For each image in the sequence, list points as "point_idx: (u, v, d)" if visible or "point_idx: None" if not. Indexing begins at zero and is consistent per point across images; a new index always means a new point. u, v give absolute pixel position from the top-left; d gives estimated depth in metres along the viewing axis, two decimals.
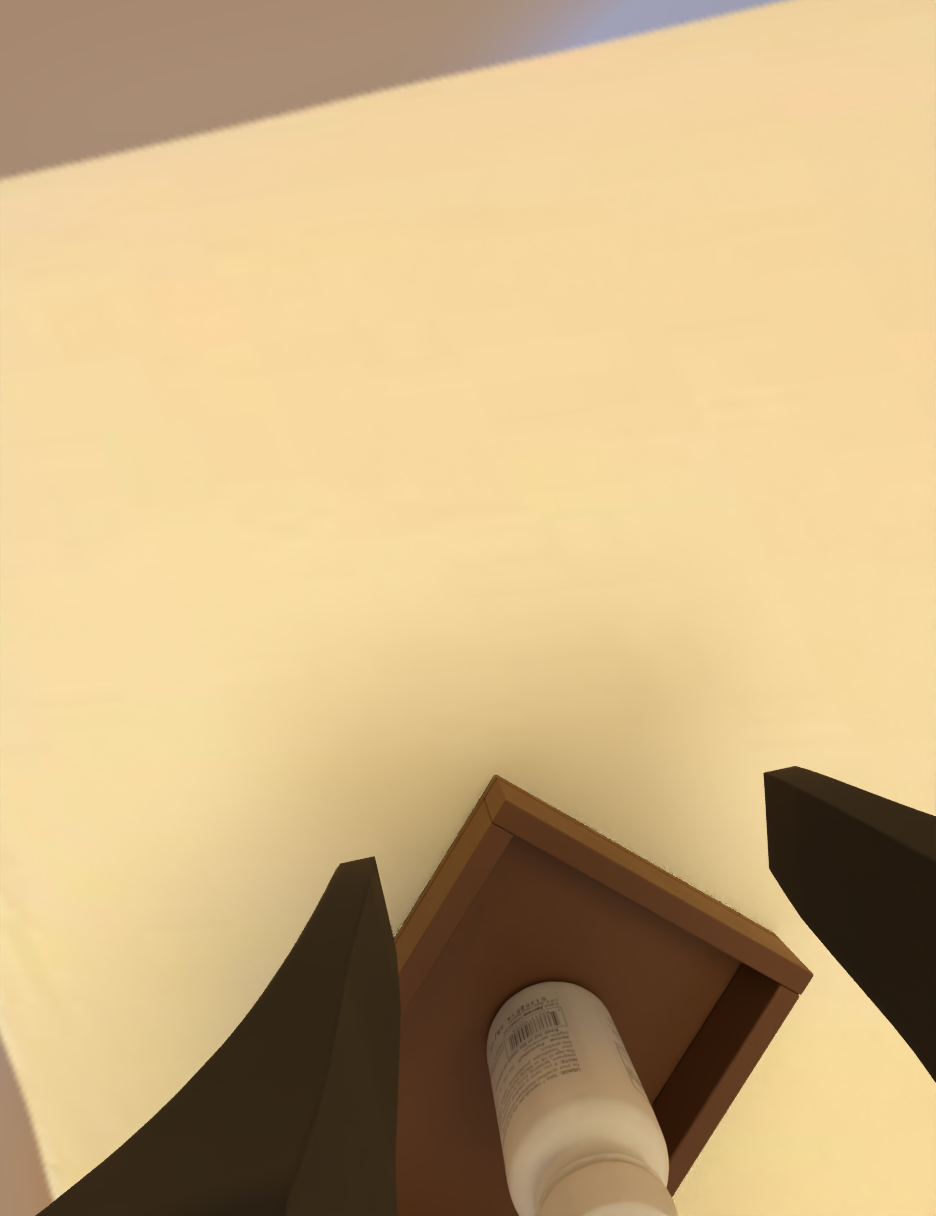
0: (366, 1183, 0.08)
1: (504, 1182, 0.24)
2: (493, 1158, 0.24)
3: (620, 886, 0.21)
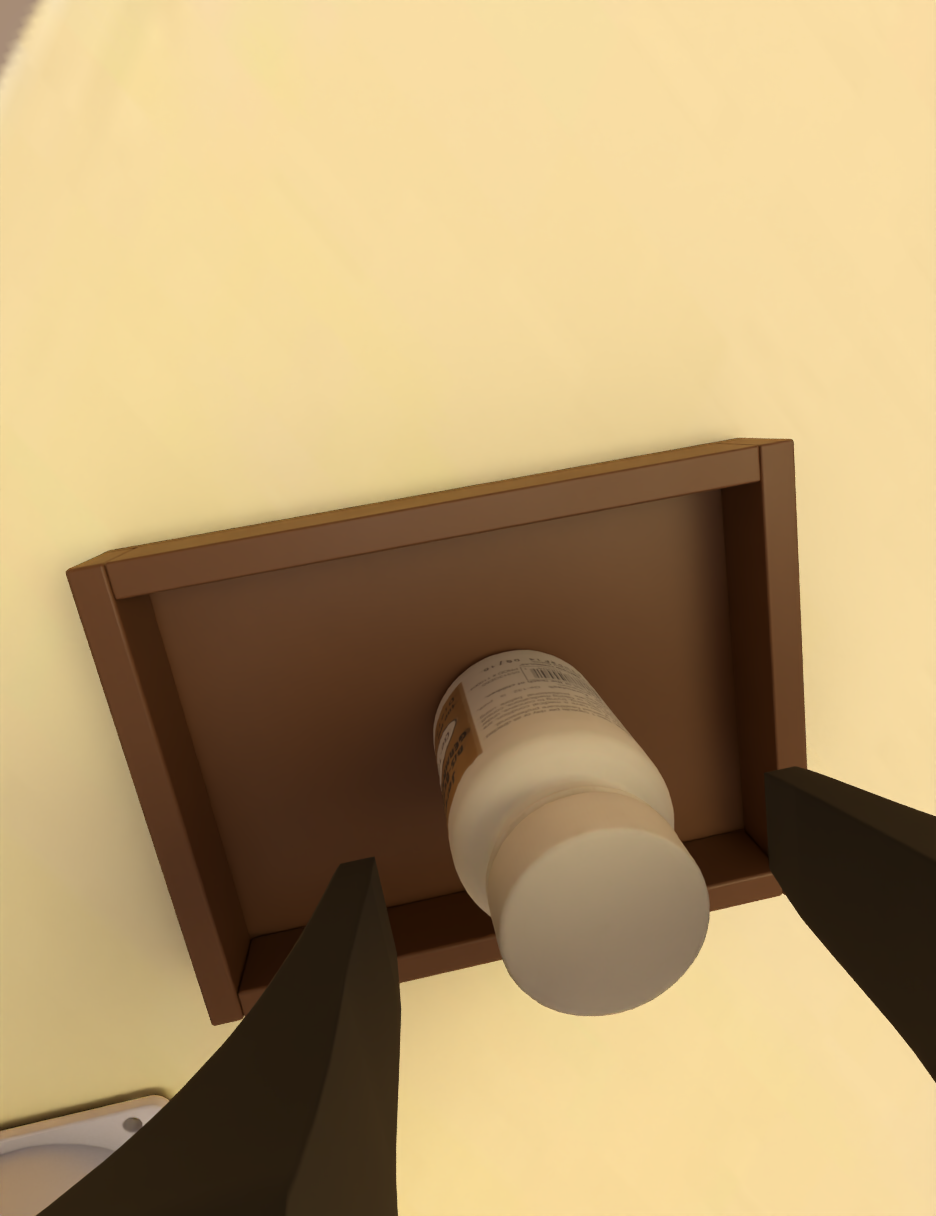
0: (366, 1183, 0.08)
1: (329, 814, 0.18)
2: (345, 783, 0.18)
3: (779, 637, 0.16)
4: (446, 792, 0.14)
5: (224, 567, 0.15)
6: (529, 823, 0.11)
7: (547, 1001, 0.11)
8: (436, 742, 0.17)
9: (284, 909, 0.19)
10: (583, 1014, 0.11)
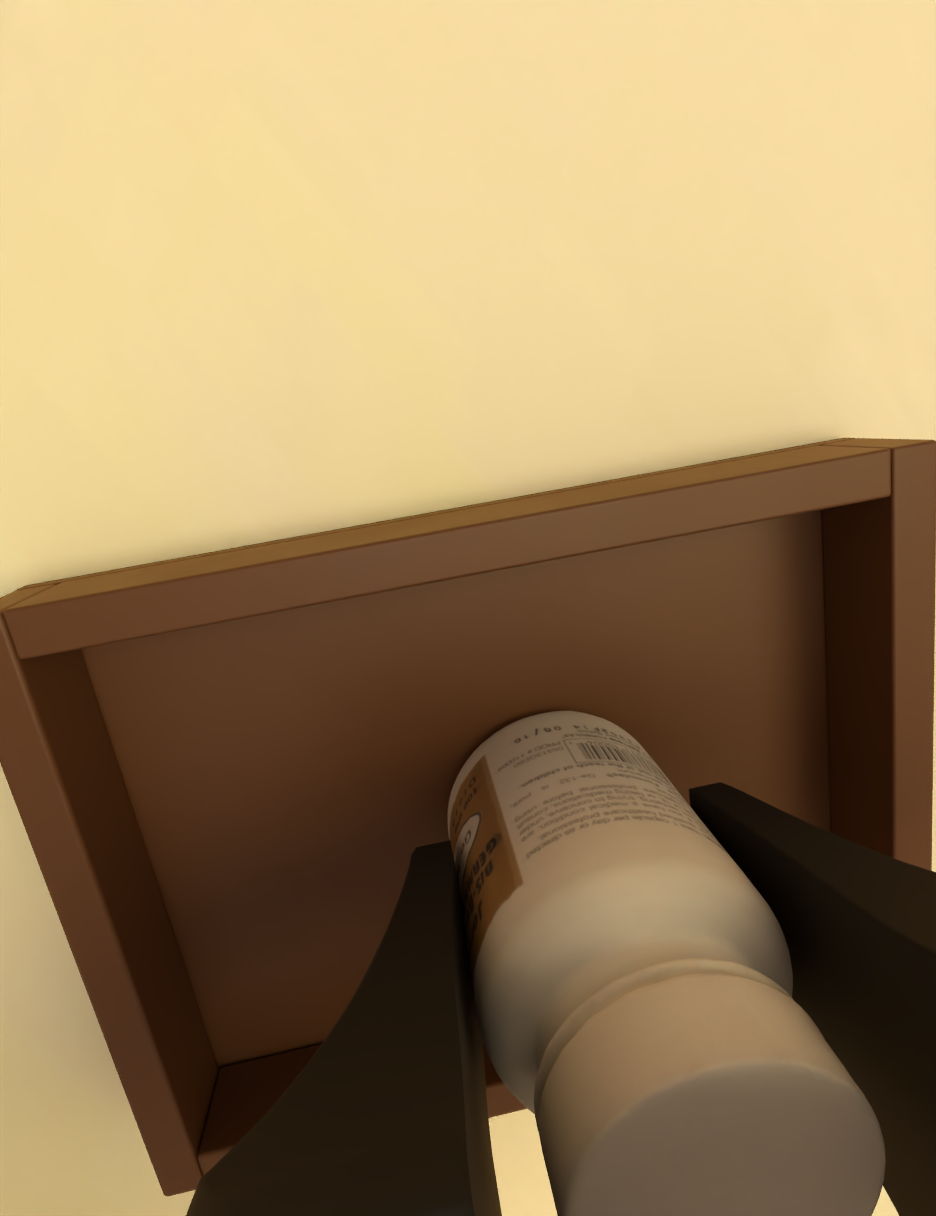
0: (485, 1154, 0.08)
1: (317, 915, 0.14)
2: (337, 876, 0.14)
3: (905, 700, 0.12)
4: (470, 926, 0.10)
5: (168, 615, 0.11)
6: (605, 1027, 0.07)
7: None
8: (452, 835, 0.13)
9: (260, 1031, 0.15)
10: None
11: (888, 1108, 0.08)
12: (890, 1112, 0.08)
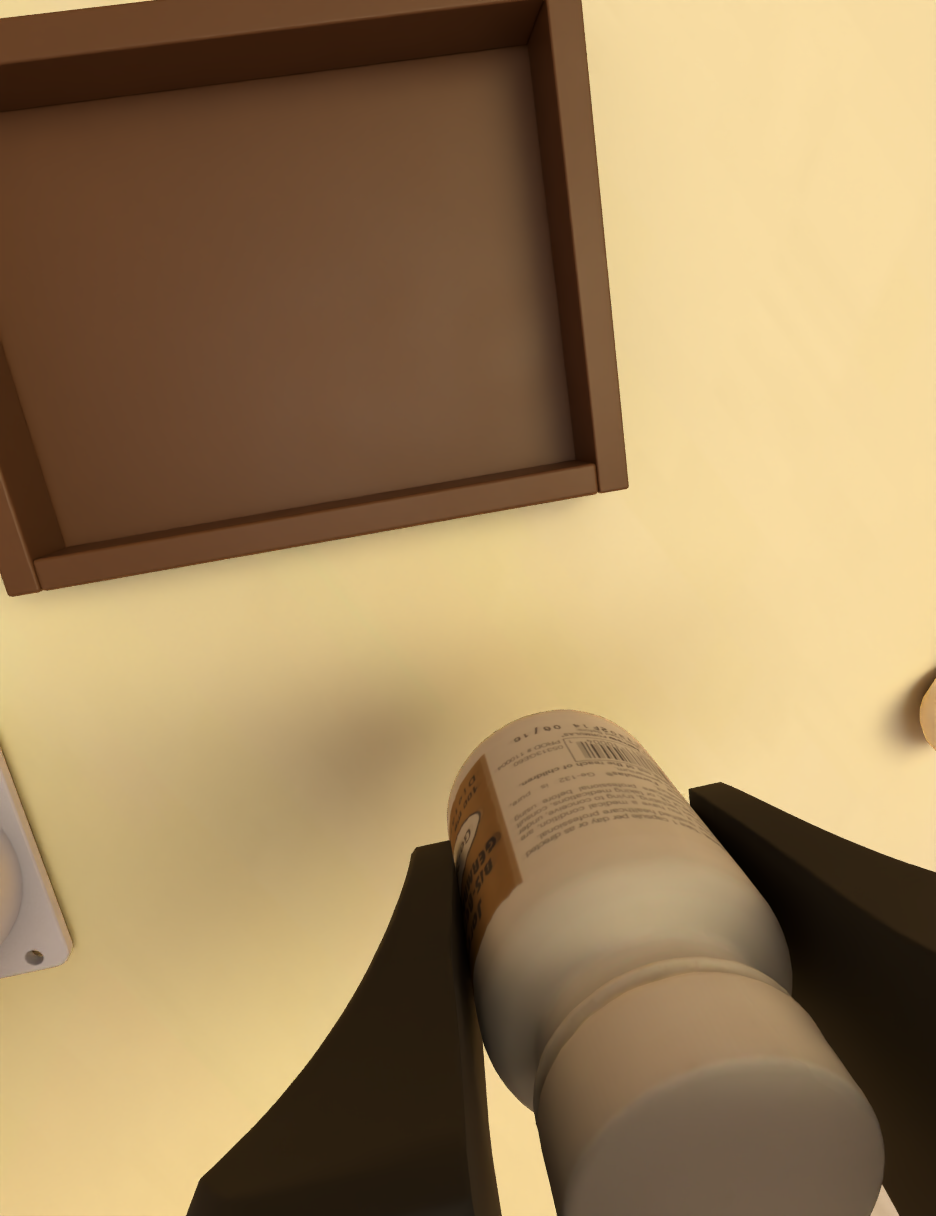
0: (485, 1154, 0.08)
1: (140, 409, 0.18)
2: (155, 374, 0.18)
3: (575, 184, 0.16)
4: (469, 925, 0.10)
5: None
6: (604, 1026, 0.07)
7: None
8: (452, 834, 0.13)
9: (99, 517, 0.19)
10: None
11: (887, 1107, 0.08)
12: (890, 1112, 0.08)
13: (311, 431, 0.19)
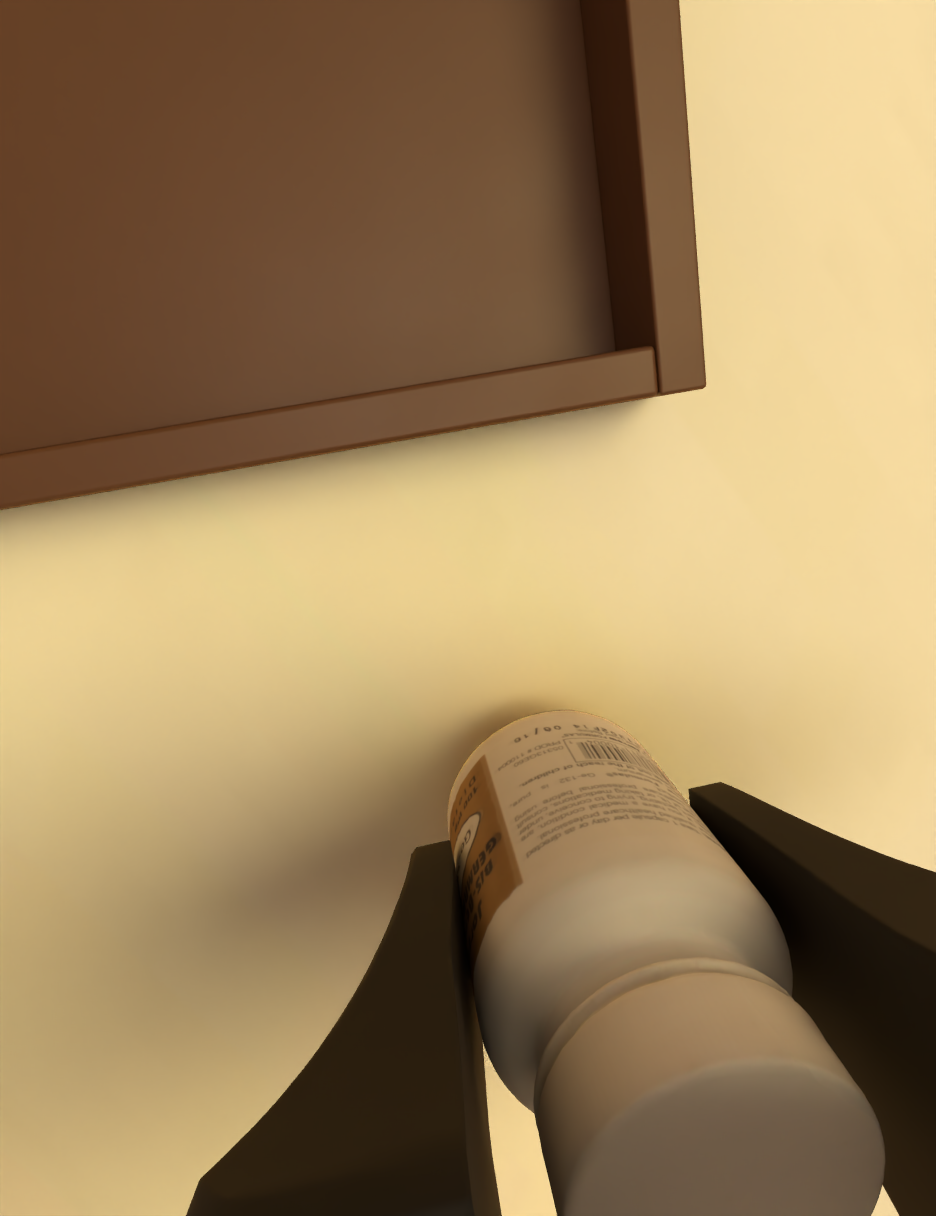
0: (485, 1153, 0.08)
1: None
2: None
3: None
4: (469, 926, 0.10)
5: None
6: (605, 1027, 0.07)
7: None
8: (452, 834, 0.13)
9: None
10: None
11: (888, 1108, 0.08)
12: (890, 1112, 0.08)
13: (208, 307, 0.12)
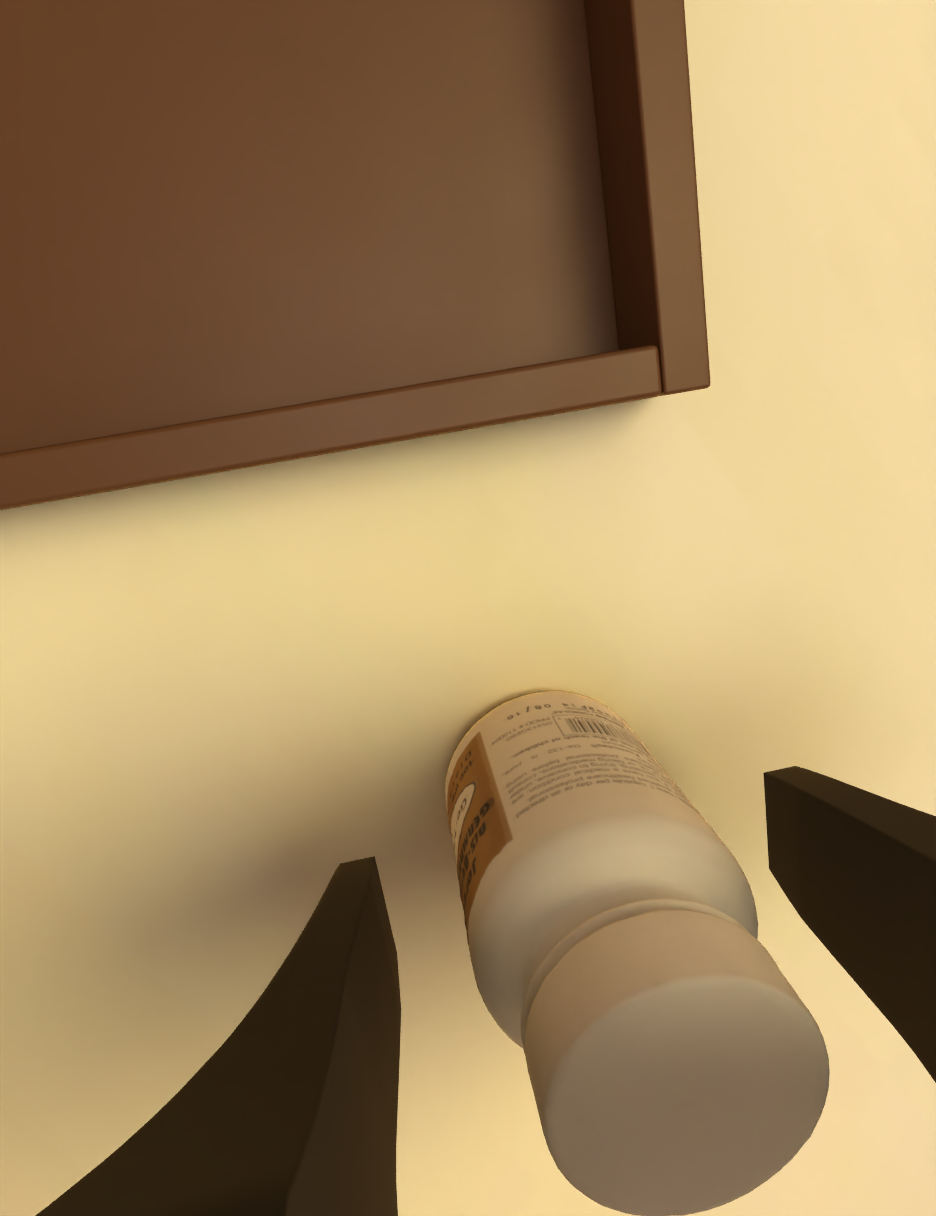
0: (366, 1183, 0.08)
1: None
2: None
3: None
4: (464, 882, 0.11)
5: None
6: (581, 955, 0.08)
7: (608, 1202, 0.08)
8: (449, 805, 0.14)
9: None
10: (655, 1215, 0.08)
11: None
12: None
13: (209, 305, 0.12)
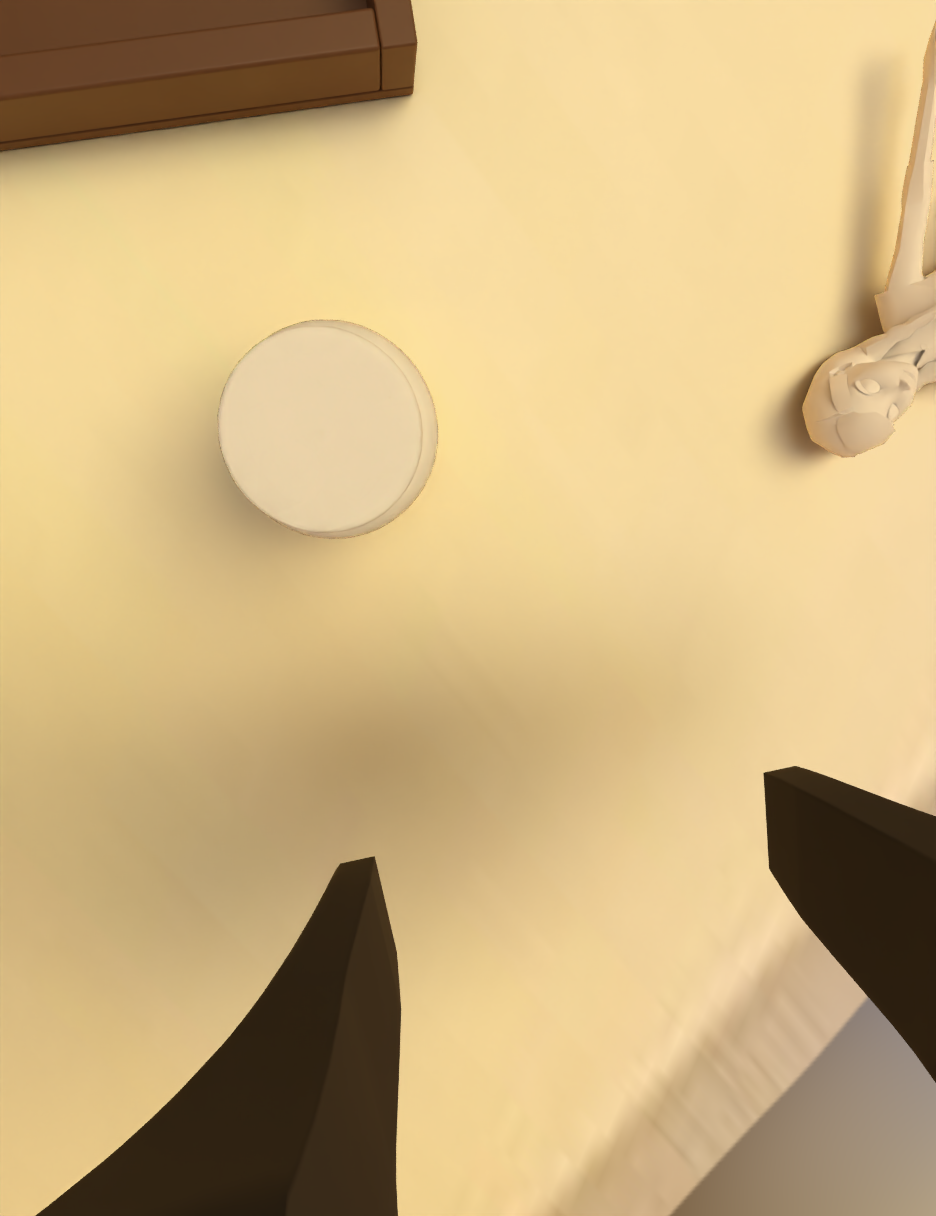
0: (366, 1183, 0.08)
1: None
2: None
3: None
4: None
5: None
6: None
7: (270, 508, 0.12)
8: None
9: None
10: (308, 528, 0.12)
11: None
12: None
13: None
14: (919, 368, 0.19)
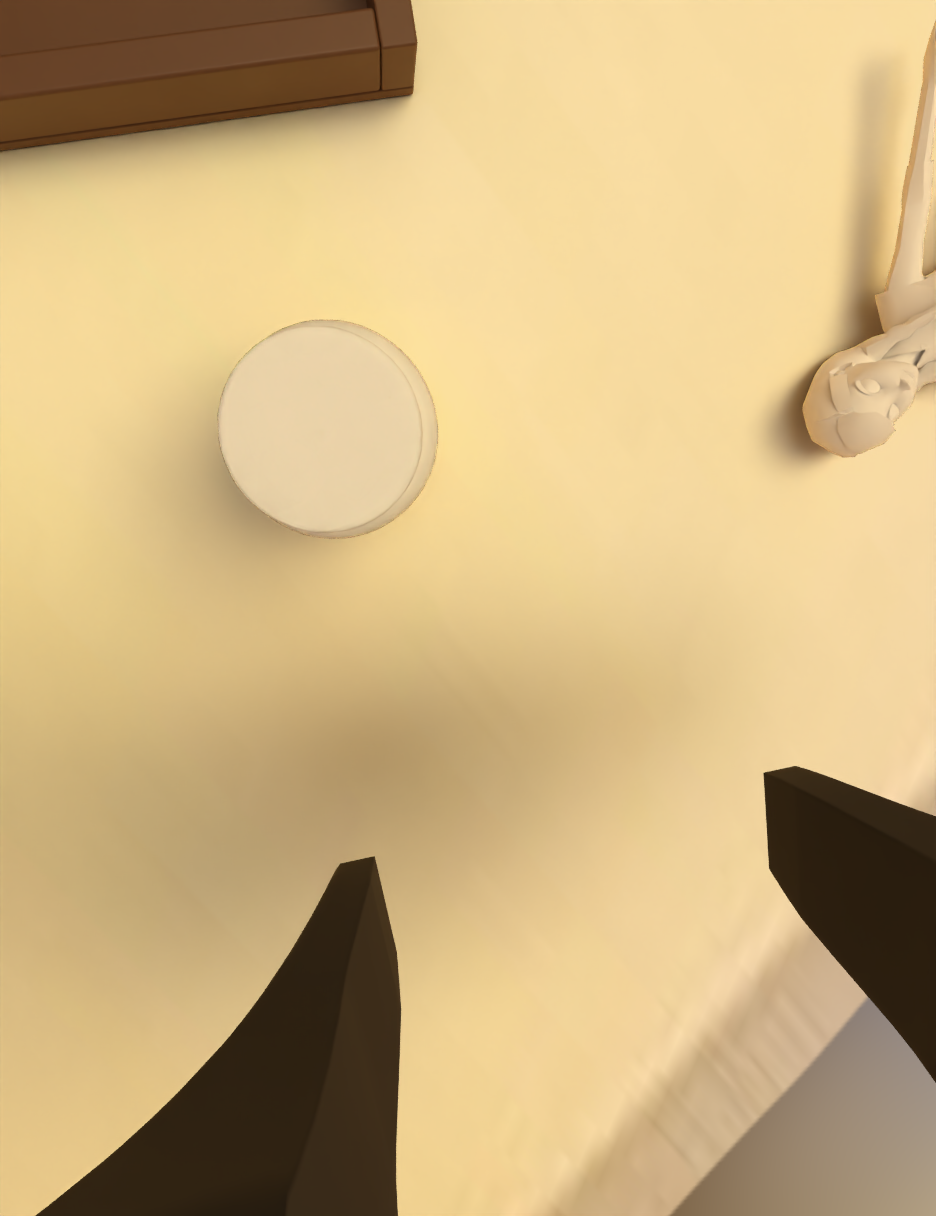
0: (366, 1183, 0.08)
1: None
2: None
3: None
4: None
5: None
6: None
7: (270, 508, 0.12)
8: None
9: None
10: (308, 528, 0.12)
11: None
12: None
13: None
14: (919, 368, 0.19)
